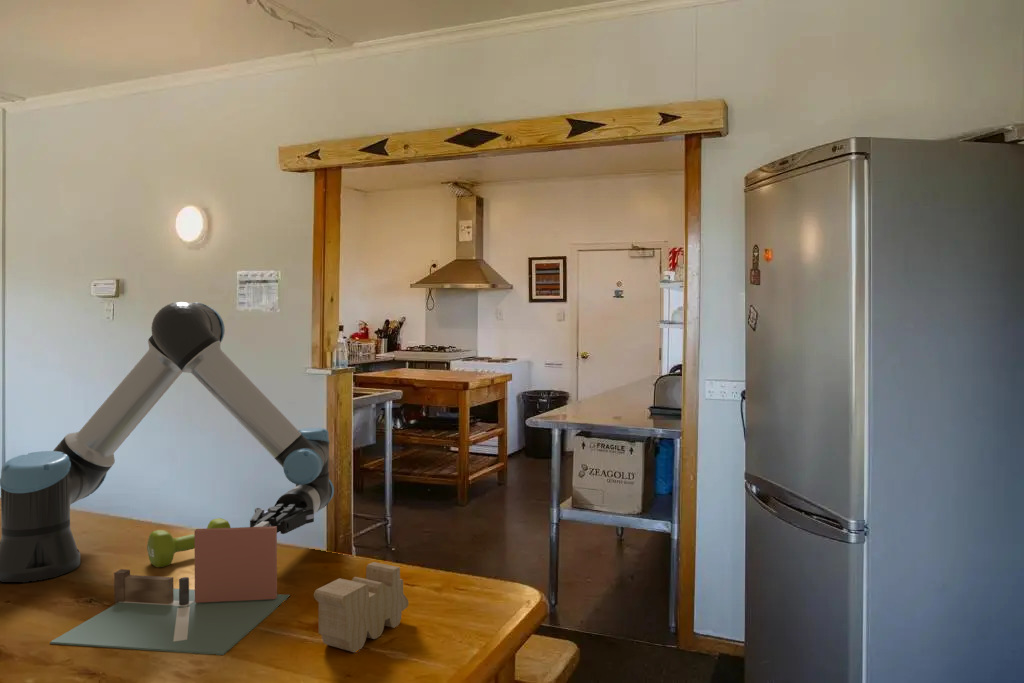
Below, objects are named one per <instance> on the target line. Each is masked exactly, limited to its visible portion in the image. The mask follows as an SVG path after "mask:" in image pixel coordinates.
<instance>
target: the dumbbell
mask: <svg viewBox="0 0 1024 683" xmlns="http://www.w3.org/2000/svg"><path fill="white" fill-rule="evenodd" d="M209 528H232V527H231V524H230V522H229V521H228V520H226V519H224V518H220V517H218V518H214V519H211V520H210V521H209V523H208V524H207V526H206V529H209ZM146 547H147V548H146V549H147V550H146V551H147V555H148V560H149V562H150V564H151V565H152V566H154V567H156V568H158V567H161V568H165V567H168V566H170V565H171V563H172V562H173V559H174V556H175V554H176V553H179V552H180V553H181V552H186V551H189V550H195V538H194V533H191V534H187V535H183V536H179V537H173V536H172V534H171V533H170V532H168V530H163V529H157V530H154V531H152V532H150V534H149V536H148V540H147V546H146Z"/></svg>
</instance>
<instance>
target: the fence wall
mask: <svg viewBox="0 0 1024 683" xmlns="http://www.w3.org/2000/svg"><path fill="white" fill-rule="evenodd" d="M113 576H114V579H113V580H114V583H113V584H114V586H113V587H114V604H117V603H118V602H140V603H157V604H170V603H171V602H173V601H174V596H173V588H174V577H173V576H157V575H156V576H154V575H136V574H135V575H134V574H131V569H119V570H117V571H115V572H114V574H113ZM178 589H179V605H186V604H189V589H190V578H189V577H186V576H185V577H180V578H179V579H178Z"/></svg>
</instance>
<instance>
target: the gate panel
mask: <svg viewBox="0 0 1024 683" xmlns="http://www.w3.org/2000/svg"><path fill="white" fill-rule="evenodd" d="M193 534H194V538H195V549H194V590H195V603H200V602H221V601H243V600H264V599H276V597H277V594H278V555H277V554H278V541H277V540H278V536H277V535H278V533H277V526H270V527H250V526H247V527H246V526H242V527H231V528H209V529H207V528H196V529H195V530H194V532H193Z"/></svg>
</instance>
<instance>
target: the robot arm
mask: <svg viewBox="0 0 1024 683" xmlns="http://www.w3.org/2000/svg"><path fill="white" fill-rule="evenodd" d="M225 330H226V329H225V324H224V321H223V318H222V316H221V315H220V313H218V312H217V310H215V309H214V308H212V307H210V306H209V305H207V304H205V303H204V304H203V303H200V302H187V301H177V302H176V301H175V302H172V303H169V304H167V305H165V306H163V307H161V309H159V310H158V311H157V313H156V314H155V315H154V317H153V320H152V323H151V335H150V336H149V338H148V339H147V342H148V343H147V344H148V351H146V353H145V354H144V355H143V356H142V357H141V359H139V361H137V363H136V364H135V365H134V367H133V368H132V369H131V370H130V371H129V372H128V373H127V375H126V376H125V377H124V378H123V379H122V381H121V382H120V383H119V384H118V385H117V387H116V388H115V389H114V390H113V391H112V393H111V394H110V395H109V396H108V397H107V398H106V400H105V401H104V402H103V403H102V405H100V406H99V408H98V409H97V410H96V411H95V412H94V414H93V415H92V416H91V417H90V418H89V419H88V420H87V422H85V424H84V425H83V427H81V428H80V429H79V431H77V432H69V433H67V434H66V435H65V436H64V438H63V439H62V440H60V442H59V443H58V444H57V446H56V447H55V448H54V449H53V450H43V451H34V452H30V453H29V452H28V453H27V454H21V455H17V456H15V457H12V458H10V459H8V460H7V461H5V462H4V464H3V466H1V471H0V473H1V474H0V510H1V511H0V513H1V515H0V518H1V520H0V522H1V538H0V581H1V582H23V583H30V582H29V581H32V582H38V581H37V580H39V581H43V579H44V580H47V579H48V578H49V579H51V578H56V577H60V576H63V575H65V574H68V573H70V572H72V571H74V570H76V569H77V568H79V567H80V565H81V552H80V549H79V548H78V547H77V544H76V540H75V537H74V534H73V532H72V529H71V505H72V504H73V503H76V502H79V501H80V500H82V499H85V498H87V497H89V496H90V495H92V494H93V493H94V492H96V491H97V490H99V488H100V487H101V485H103V483H104V481H105V479H106V476H107V474H108V472H109V471H110V469H111V468H112V467H113V466H114V465H115V463H116V462H115V461H116V460H115V454H114V453H115V452H116V451H117V450H118V449H119V448H120V446H121V445H122V444H123V443H124V442H125V441H126V440H127V438H128V437H129V436H130V435H131V433H132V432H133V431H134V430H135V429H136V427H137V426H138V425H139V424H140V423H141V422H142V421H143V419H144V418H145V417H146V416H147V415H148V414H149V412H150V411H151V410H152V409H153V408H154V406H155V405H156V404H157V403H158V401H160V399H161V398H162V397H163V396H164V394H165V393H167V391H168V390H169V389H170V387H171V386H172V385H173V384H174V383H175V381H176V380H177V379H178V378H179V376H180V375H181V374H182V373H188V374H191V375H193V376H194V378H195V379H196V380H197V381H198V382H200V384H202V386H203V387H204V388H205V389H206V390H207V391H208V392H209V393H210V394H211V395H212V396H213V397H214V398H215V399H216V400H217V401H218V402H219V403H220V404H221V405H222V406H223V407H224V409H226V410H227V411H228V412H229V413H230V414H231V416H233V417H234V418H235V420H237V421H238V423H239V424H241V426H242V427H243V428H244V429H246V430H247V432H248V433H249V434H250V435H251V436H252V437H253V438H254V439H255V440H256V442H258V443H259V444H260V445H261V446H262V447H263V448H264V449H265V450H266V452H268V453H269V455H271V456H272V458H274V460H275V461H276V462H277V463H278V464H279V465H280V466H281V467H282V469H283V473H284V476H285V478H286V479H287V481H289V482H290V483H292V484H294V485H295V487H294V488H292V489H290V490H288V491H287V492H286V493H284V494H282V495H281V496H280V497H278V499H277V501H276V502H275V504H274V505H273V506H271V507H269V508H268V509H267V510H265V509H264V508H261V507H256V508H254V514H253V515H252V517H251V518H250V519H249V527H270V526H277V534H278V533H279V532H280V534H282V535H285V534H288V533H290V532H292V531H293V530H296V529H298V528H301V527H302V526H305V525H306V524H312V523H314V522H315V514H316V513H318V512H319V511H321V510H322V509H325V507H326V506H328V504H329V503H330V501H332V498H333V497H334V494H335V486H334V484H333V482H332V481H331V480H332V479H330V472H329V471H330V470H329V468H330V467H329V465H330V464H329V463H330V462H329V461H330V460H329V458H330V455H329V454H330V440H329V438H330V437H329V436H330V435H329V431H328V429H326V428H325V427H324V428H323V427H305V428H300V429H297V427H296V426H295V425H294V424H293V423H292V422H291V421H290V420H289V419H288V418H287V417H286V415H284V414H283V412H281V411H280V410H279V408H277V407H276V405H275V404H273V403H272V401H271V400H270V399H269V398H268V397H267V396H266V394H264V393H263V392H262V391H261V390H260V389H259V387H257V385H255V384H254V382H253V381H252V380H251V379H250V378H249V377H248V376H247V375H246V374H245V373H244V372H243V371H242V370H241V369H240V368H239V367H238V366H237V365H236V364H235V363H234V362H233V360H231V358H229V356H227V354H226V353H225V352H224V351H223V350H222V349H221V343H222V341H223V340H224V336H225ZM1 582H0V583H1Z"/></svg>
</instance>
